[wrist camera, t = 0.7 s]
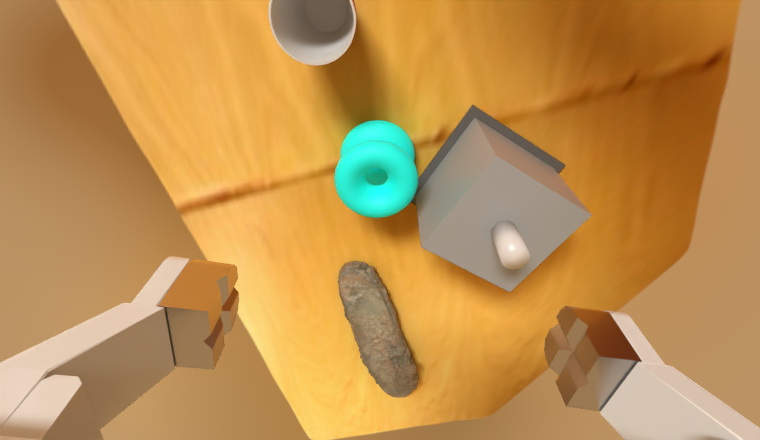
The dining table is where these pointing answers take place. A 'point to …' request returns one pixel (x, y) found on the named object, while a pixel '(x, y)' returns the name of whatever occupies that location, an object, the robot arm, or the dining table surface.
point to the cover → (495, 208)
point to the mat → (495, 125)
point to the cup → (313, 28)
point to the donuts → (376, 169)
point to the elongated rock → (377, 329)
